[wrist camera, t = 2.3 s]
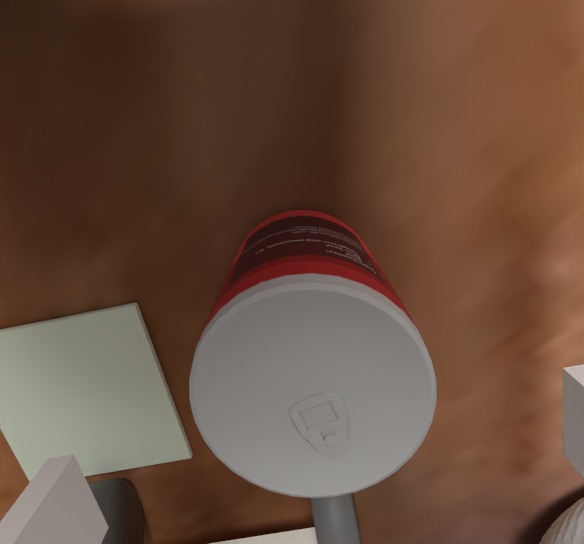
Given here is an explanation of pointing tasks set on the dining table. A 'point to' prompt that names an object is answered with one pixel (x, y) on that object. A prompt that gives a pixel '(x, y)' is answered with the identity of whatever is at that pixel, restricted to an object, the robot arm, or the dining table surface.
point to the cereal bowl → (567, 526)
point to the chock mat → (87, 394)
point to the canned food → (310, 363)
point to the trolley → (317, 540)
